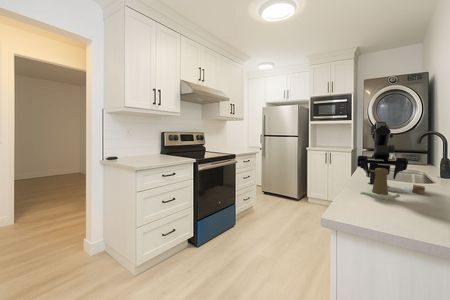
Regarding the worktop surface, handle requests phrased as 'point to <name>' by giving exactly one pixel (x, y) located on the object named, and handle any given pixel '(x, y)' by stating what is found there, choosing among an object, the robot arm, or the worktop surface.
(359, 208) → the worktop surface
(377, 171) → the cork
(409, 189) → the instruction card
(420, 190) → the brick
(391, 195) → the baseplate
